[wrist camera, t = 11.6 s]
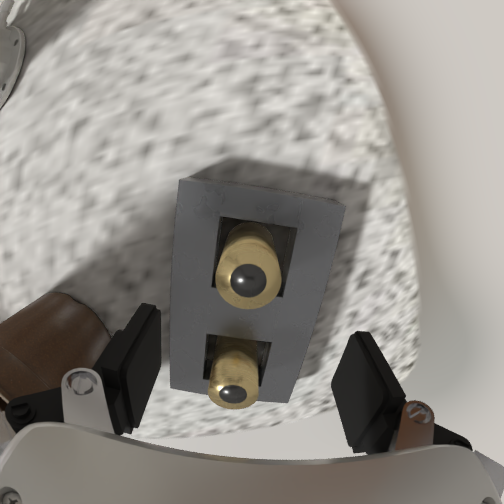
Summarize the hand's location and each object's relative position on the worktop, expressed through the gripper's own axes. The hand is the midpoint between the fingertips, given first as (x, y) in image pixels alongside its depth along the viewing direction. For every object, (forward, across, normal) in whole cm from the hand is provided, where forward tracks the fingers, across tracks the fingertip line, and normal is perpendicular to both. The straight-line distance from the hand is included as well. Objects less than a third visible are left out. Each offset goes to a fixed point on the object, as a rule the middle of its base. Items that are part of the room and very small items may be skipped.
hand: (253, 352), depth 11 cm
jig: (+14, 0, +5) cm, 15 cm away
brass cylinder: (+14, 0, 0) cm, 14 cm away
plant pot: (+14, +19, +14) cm, 27 cm away
